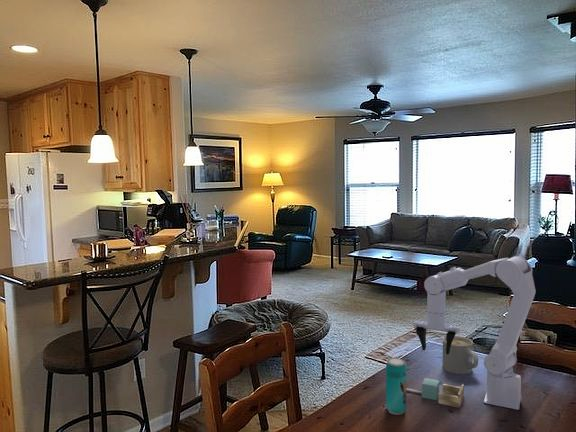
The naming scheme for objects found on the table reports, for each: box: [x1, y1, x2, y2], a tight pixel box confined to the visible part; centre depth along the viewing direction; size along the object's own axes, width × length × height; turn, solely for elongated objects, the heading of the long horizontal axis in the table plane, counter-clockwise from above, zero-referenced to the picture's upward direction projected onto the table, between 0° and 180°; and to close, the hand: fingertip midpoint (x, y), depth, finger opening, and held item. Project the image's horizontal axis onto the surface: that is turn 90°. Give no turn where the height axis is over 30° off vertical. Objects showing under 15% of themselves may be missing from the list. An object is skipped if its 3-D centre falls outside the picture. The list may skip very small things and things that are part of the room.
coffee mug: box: [441, 335, 479, 375], centre depth 165 cm, size 13×10×10 cm
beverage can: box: [385, 357, 407, 416], centre depth 137 cm, size 6×6×15 cm
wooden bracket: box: [437, 383, 465, 408], centre depth 144 cm, size 6×8×4 cm
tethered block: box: [406, 377, 440, 401], centre depth 149 cm, size 12×4×6 cm, turn 62°
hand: (435, 351), depth 157 cm, fingers open, 7 cm apart
